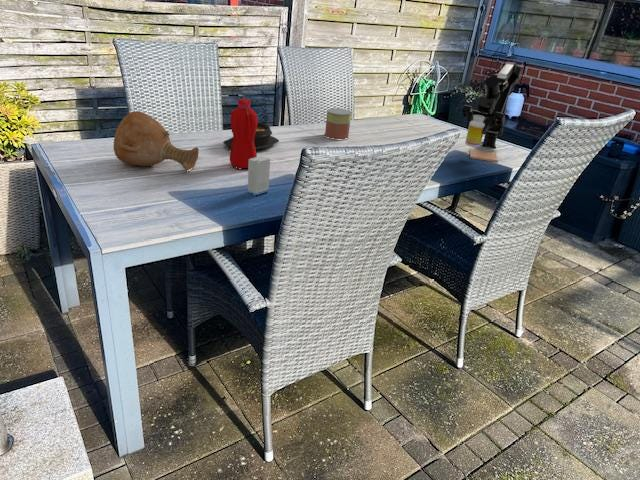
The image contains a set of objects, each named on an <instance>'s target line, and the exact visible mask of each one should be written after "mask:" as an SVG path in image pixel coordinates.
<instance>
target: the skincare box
mask: <svg viewBox="0 0 640 480" xmlns="http://www.w3.org/2000/svg"><path fill="white" fill-rule="evenodd" d="M270 166H271V158H269V157H266V156H263V155H260V156H257V157H255V158H251V159H249V164H248V170H247V171H248V174H247V181H248V182H247V191H248V190H249V191H251V192H254V193H259V192H262V191H265V190H268V189H270Z"/></svg>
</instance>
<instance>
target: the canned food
mask: <svg viewBox="0 0 640 480" xmlns="http://www.w3.org/2000/svg"><path fill="white" fill-rule="evenodd" d="M351 116H352V112H351V111H350V110H349V109H343V108H337V107H336V108H334V107H332V108H327V109H326V119H325V120H326V121H325V129H324V130H325V132H324V137H325V136H326V137H329V138H334V139H345V138H348V139H349V134H350V125H351ZM326 137H325V138H326Z"/></svg>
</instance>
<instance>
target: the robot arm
mask: <svg viewBox="0 0 640 480" xmlns="http://www.w3.org/2000/svg"><path fill="white" fill-rule="evenodd" d="M521 77H522V68H521V67H519V66H518V64H517V63H516V62H511V61H505V62H504V65H503V67H502V68H501V70H500V71H499V72H498V73H495V74H494V73H493V74H492V76H489V77H487V78H486V79H485V80H484V89H485V95H484V97H481V96H478V98H477V101H476V104H475V105H476V109H477V110H475V109H473V106H472V105H467V104H464V105H462V106H461V108H460V110H461V115H462V117H464V118H466V119H467V124H466V130H467V131H468V128H469V124H470V122H471V121H473V116H474V115H482V116H484V117H485V118H484V121H483V122H484V123H485V127H484V129H483V131H482V133H483V134H484V137H483V141H481V146H482V147H487V148H493V149H496V148H497V146H496V142H497V138H498V136H502V135H503V132H504V130H503V129H504V125H505V122H506V115H505V113H504V110H505V107H506V105H507V101H508V98H509V96H510V93H511V91H512V88H514V86H516V85H517V84H518V82H519V80H520V79H521Z"/></svg>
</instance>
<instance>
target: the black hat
mask: <svg viewBox="0 0 640 480" xmlns="http://www.w3.org/2000/svg"><path fill="white" fill-rule="evenodd" d="M231 133H232V134H233V131H232V130H231ZM279 142H280V140H279V138H277V137H275V136H273V131H272V130H271V127H270V126H269V125H267V124H266V123H262V122H258V125H257V128H256V132H255V136H254V144H255V149H256V150H262V148H263V149H266V148H270V147H271V146H273V145H274V144H278V143H279ZM232 143H233V136H232V137H230V138H229V139H226V140H224V141H223V144H224V145H225V146H226V147H228V148H231V147H232Z"/></svg>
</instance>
